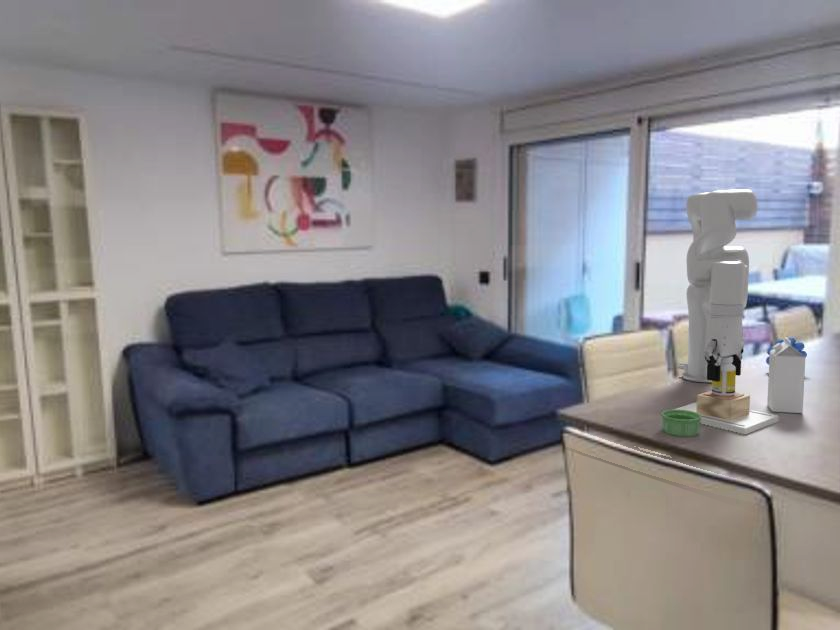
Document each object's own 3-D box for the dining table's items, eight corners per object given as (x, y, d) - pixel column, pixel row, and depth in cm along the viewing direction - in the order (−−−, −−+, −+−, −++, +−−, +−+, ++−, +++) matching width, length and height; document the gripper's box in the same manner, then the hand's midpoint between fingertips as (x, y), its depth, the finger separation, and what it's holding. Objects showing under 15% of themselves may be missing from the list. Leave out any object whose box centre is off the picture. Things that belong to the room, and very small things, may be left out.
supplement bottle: (734, 392, 164) (736, 354, 163) (735, 397, 159) (736, 358, 158) (711, 390, 166) (712, 353, 165) (711, 395, 162) (712, 357, 160)
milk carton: (796, 406, 172) (800, 337, 170) (802, 414, 166) (806, 341, 163) (767, 405, 175) (770, 336, 172) (772, 412, 168) (775, 341, 166)
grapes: (805, 372, 212) (807, 336, 210) (806, 376, 206) (807, 339, 204) (765, 369, 218) (767, 334, 216) (765, 373, 212) (766, 337, 210)
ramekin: (697, 440, 148) (698, 421, 148) (657, 434, 153) (657, 416, 153) (703, 429, 156) (704, 412, 155) (665, 424, 161) (665, 407, 160)
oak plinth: (696, 412, 164) (696, 393, 164) (715, 406, 170) (715, 388, 169) (730, 420, 157) (731, 400, 156) (749, 413, 162) (750, 394, 162)
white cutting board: (669, 416, 167) (669, 410, 167) (703, 405, 176) (703, 399, 176) (745, 434, 151) (745, 428, 151) (778, 421, 160) (778, 415, 160)
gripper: (729, 306, 168) (727, 370, 170) (692, 312, 158) (690, 380, 160) (758, 308, 162) (756, 374, 164) (722, 315, 152) (719, 385, 154)
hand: (723, 377), depth 162 cm, fingers open, 9 cm apart
